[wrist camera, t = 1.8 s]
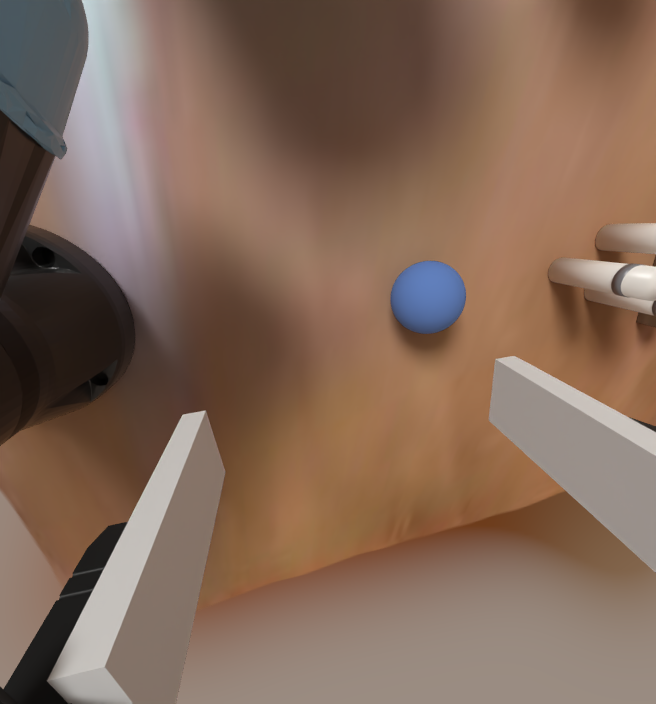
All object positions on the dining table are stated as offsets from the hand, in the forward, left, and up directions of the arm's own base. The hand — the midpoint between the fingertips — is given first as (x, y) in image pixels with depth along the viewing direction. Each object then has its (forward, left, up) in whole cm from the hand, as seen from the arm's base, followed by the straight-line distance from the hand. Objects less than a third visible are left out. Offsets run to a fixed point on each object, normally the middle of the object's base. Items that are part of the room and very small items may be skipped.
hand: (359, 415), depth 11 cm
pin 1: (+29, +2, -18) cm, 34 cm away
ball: (+10, 0, -15) cm, 18 cm away
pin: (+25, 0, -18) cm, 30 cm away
